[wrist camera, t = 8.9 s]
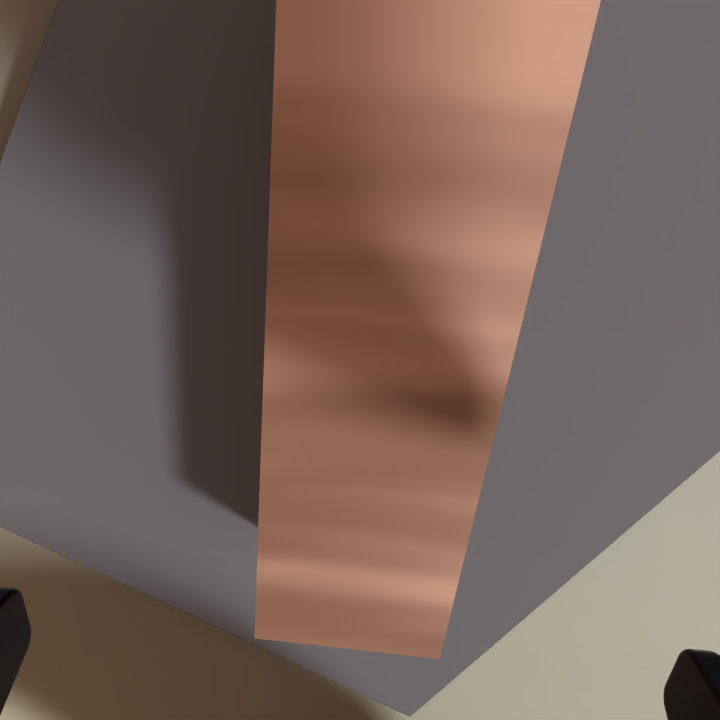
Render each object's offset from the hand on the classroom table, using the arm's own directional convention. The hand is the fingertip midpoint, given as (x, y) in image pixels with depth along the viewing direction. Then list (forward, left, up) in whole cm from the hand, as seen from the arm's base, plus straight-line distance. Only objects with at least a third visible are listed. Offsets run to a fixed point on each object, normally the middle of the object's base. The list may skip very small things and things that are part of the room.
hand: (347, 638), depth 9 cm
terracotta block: (-4, -2, -5) cm, 6 cm away
